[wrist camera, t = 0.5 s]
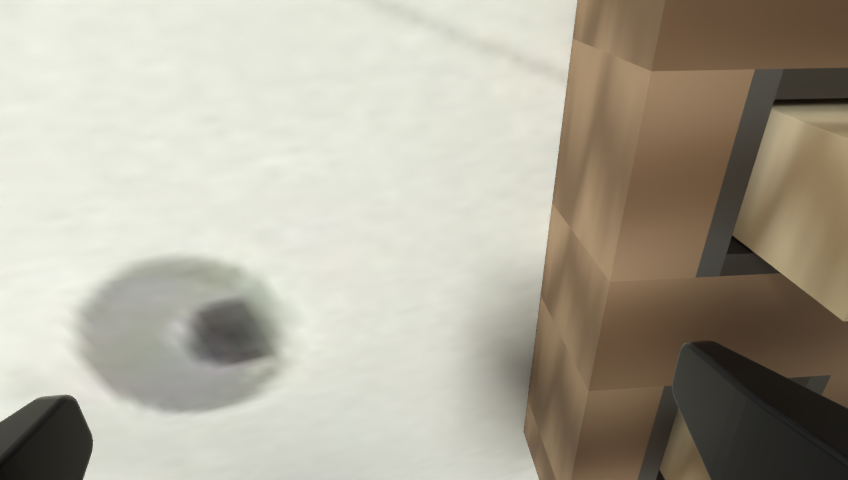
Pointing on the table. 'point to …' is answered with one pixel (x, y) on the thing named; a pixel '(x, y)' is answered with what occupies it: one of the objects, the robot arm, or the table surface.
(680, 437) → the peg
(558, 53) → the table surface
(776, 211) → the peg
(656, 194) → the band block
